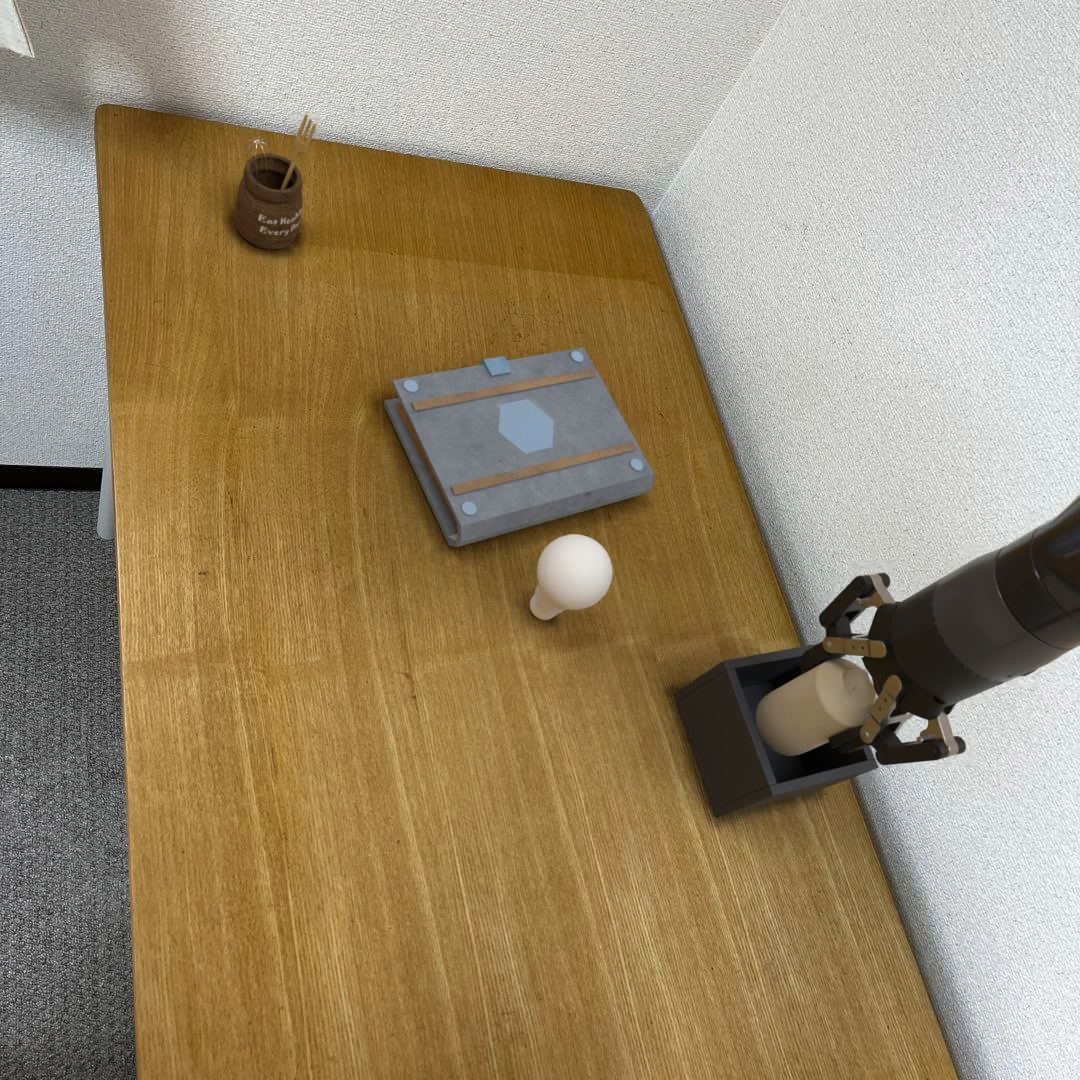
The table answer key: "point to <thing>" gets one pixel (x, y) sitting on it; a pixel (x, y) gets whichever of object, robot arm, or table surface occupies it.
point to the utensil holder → (272, 195)
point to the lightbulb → (570, 576)
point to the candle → (815, 707)
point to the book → (516, 443)
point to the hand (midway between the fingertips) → (823, 704)
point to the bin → (754, 736)
